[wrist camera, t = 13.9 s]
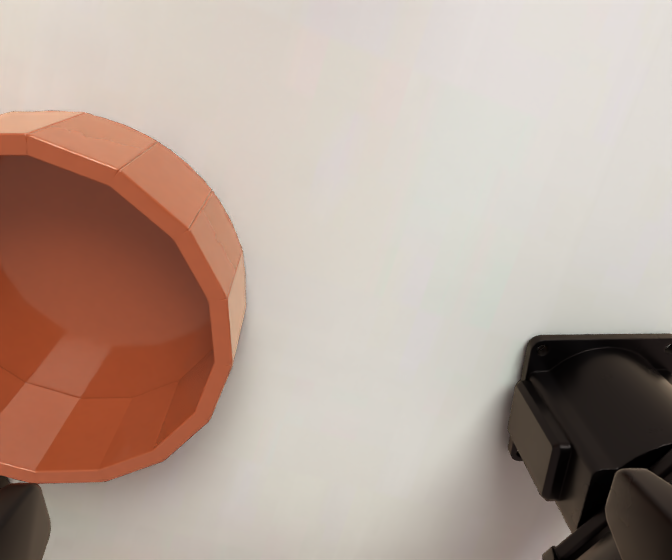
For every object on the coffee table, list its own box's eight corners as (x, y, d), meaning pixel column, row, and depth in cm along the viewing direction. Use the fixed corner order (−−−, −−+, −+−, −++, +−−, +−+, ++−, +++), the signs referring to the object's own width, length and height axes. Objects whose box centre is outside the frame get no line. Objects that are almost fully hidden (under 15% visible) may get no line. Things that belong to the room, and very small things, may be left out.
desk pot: (235, 112, 18) (214, 134, 14) (253, 402, 23) (241, 479, 19) (-136, 108, 18) (-269, 131, 14) (-35, 406, 23) (-110, 487, 19)
